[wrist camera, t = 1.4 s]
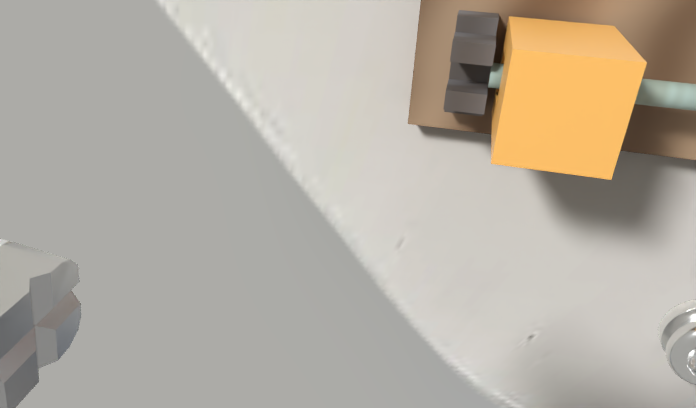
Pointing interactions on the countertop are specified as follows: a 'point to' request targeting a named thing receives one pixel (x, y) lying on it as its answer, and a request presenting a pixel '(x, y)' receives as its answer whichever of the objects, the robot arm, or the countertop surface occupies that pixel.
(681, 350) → the clear spool
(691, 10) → the slider rail board
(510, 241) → the countertop surface
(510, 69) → the orange slider block
